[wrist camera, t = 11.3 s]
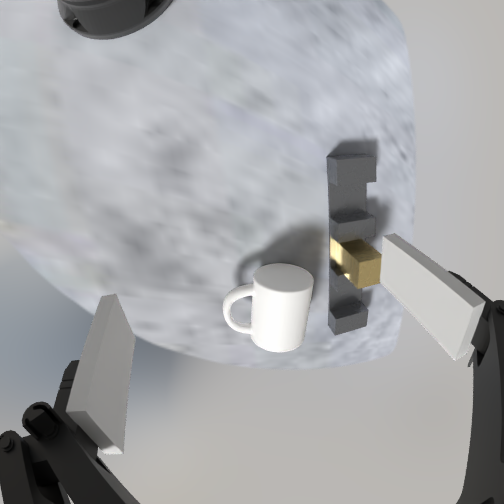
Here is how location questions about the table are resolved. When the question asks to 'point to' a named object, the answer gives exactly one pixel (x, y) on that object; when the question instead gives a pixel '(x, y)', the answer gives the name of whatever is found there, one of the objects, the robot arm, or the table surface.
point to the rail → (347, 234)
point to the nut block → (359, 262)
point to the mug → (275, 306)
